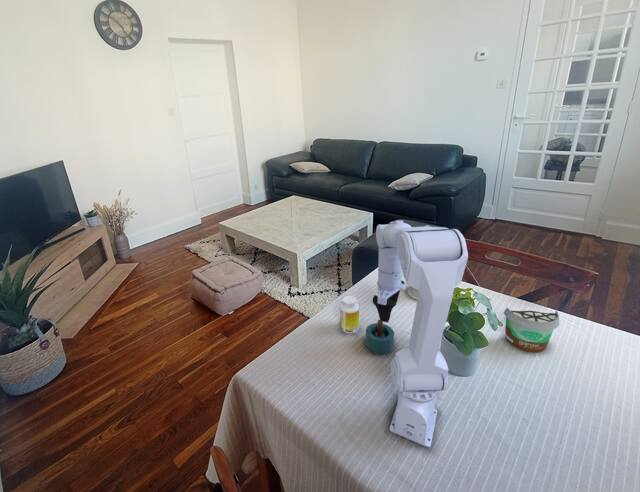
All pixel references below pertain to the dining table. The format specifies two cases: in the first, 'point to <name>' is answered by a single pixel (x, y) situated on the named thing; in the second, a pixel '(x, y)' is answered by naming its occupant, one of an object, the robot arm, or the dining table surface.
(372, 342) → the teal ring pot
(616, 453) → the dining table surface
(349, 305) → the supplement bottle
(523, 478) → the dining table surface
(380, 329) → the brush
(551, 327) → the food container
